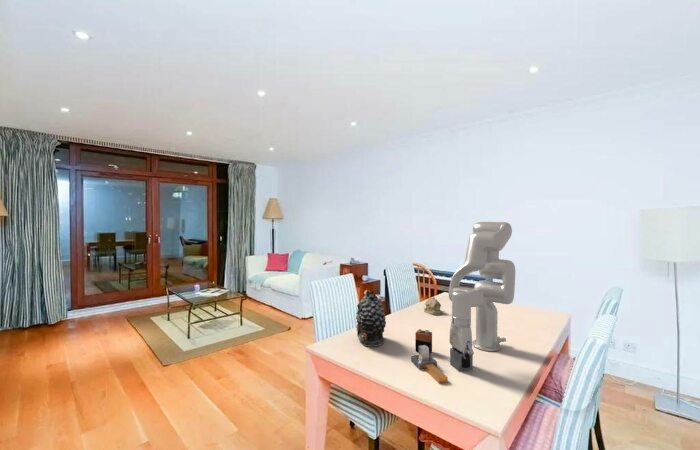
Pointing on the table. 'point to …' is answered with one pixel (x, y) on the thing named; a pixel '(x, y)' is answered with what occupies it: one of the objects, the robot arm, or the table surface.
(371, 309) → the dark pine cone
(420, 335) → the battery
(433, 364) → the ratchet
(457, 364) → the hollow square tube
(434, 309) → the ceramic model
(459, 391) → the table surface
